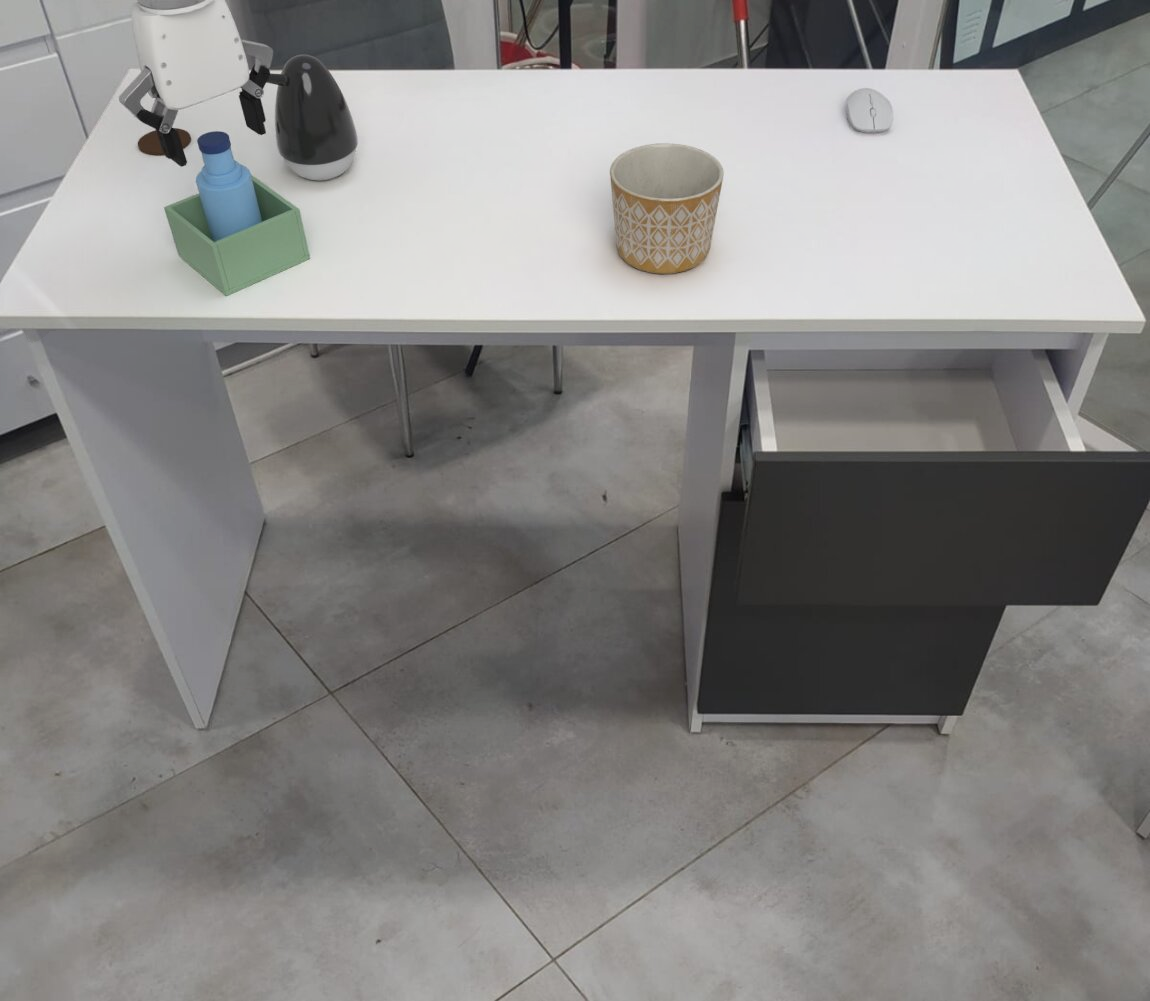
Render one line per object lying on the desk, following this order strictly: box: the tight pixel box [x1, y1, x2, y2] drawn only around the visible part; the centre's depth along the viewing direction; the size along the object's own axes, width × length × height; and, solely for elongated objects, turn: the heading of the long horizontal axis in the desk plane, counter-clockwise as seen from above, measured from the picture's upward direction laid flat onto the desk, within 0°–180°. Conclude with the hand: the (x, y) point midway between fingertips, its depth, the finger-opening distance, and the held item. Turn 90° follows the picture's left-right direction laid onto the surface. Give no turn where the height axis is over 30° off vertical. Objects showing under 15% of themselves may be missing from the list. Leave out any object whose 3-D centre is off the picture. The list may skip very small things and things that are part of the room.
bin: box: [163, 174, 311, 297], centre depth 129 cm, size 11×11×7 cm
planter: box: [609, 142, 725, 275], centre depth 128 cm, size 13×13×10 cm
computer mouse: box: [845, 87, 894, 134], centre depth 153 cm, size 6×10×3 cm, turn 179°
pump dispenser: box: [266, 54, 359, 181], centre depth 140 cm, size 10×10×15 cm
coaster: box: [137, 127, 192, 156], centre depth 152 cm, size 7×7×1 cm
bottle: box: [195, 130, 262, 242], centre depth 126 cm, size 6×6×14 cm
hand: (218, 145), depth 122 cm, fingers open, 9 cm apart
